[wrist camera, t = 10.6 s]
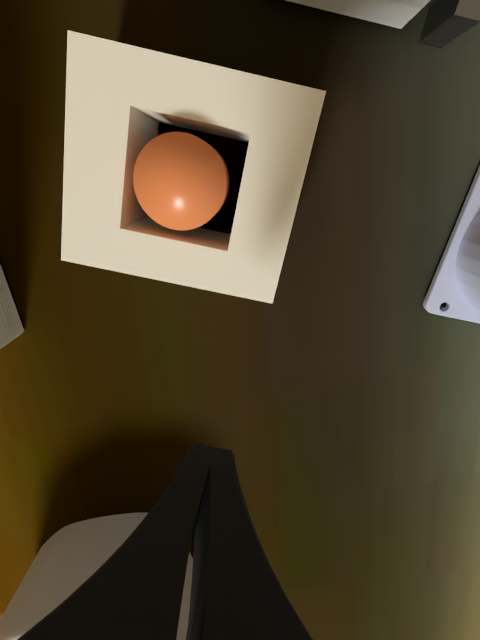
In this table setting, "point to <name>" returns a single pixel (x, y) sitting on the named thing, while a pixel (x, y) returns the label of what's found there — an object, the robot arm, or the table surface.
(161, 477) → the table surface
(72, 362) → the table surface
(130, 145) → the white hollow block
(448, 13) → the rail
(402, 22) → the carriage
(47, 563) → the lumpy-topped squat cylinder
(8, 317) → the supplement box
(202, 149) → the plunger
